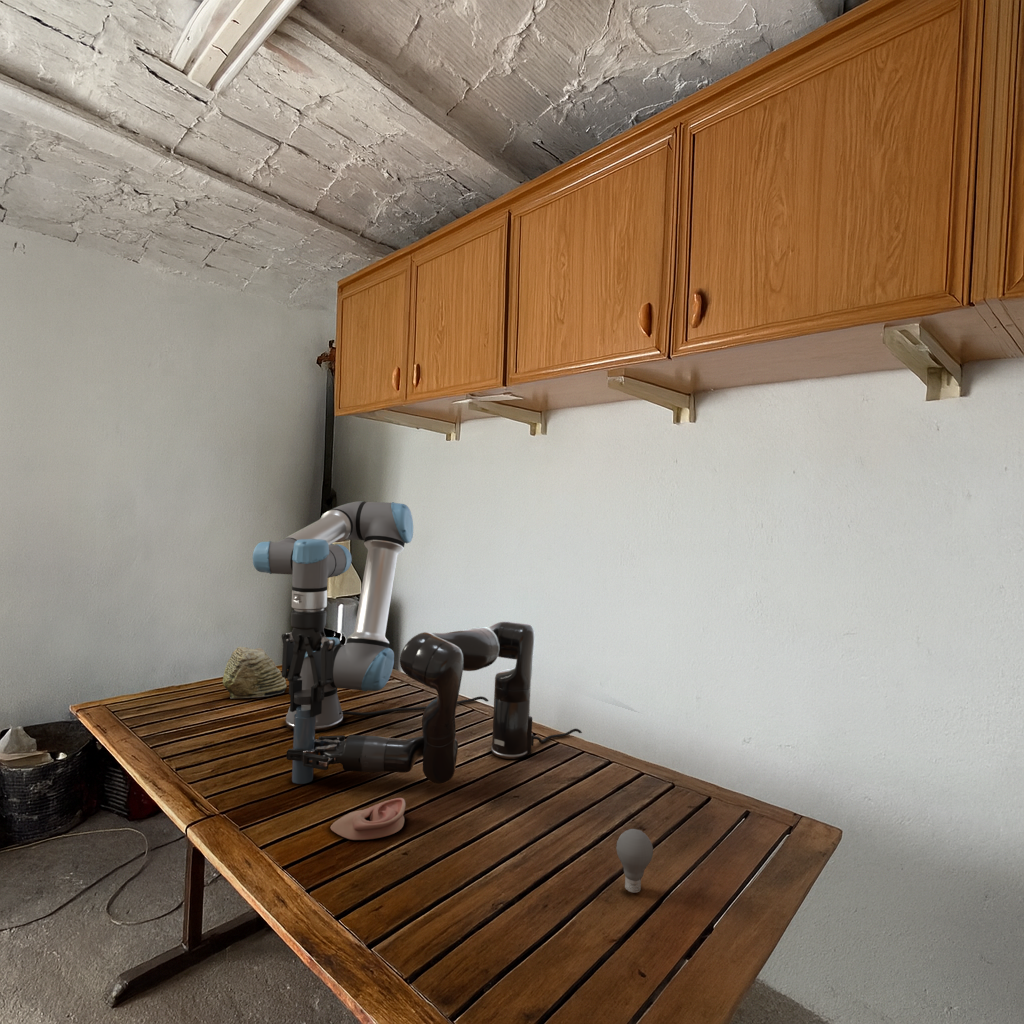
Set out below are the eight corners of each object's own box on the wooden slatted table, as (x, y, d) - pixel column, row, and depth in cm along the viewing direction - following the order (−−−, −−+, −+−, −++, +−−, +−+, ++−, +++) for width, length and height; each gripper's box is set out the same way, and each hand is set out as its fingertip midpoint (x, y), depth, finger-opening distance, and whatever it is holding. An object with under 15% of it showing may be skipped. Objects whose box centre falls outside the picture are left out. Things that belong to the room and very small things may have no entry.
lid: (308, 695, 145) (309, 687, 145) (323, 700, 142) (323, 692, 142) (288, 701, 141) (288, 693, 141) (303, 706, 138) (303, 698, 138)
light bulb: (610, 879, 108) (613, 822, 108) (644, 879, 109) (647, 822, 109) (619, 902, 102) (622, 840, 102) (655, 901, 103) (658, 840, 103)
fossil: (218, 695, 195) (220, 647, 195) (278, 685, 208) (279, 640, 207) (228, 703, 189) (230, 653, 188) (289, 692, 201) (290, 645, 201)
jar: (312, 783, 140) (315, 710, 140) (290, 784, 139) (293, 711, 138) (313, 774, 144) (316, 704, 144) (292, 775, 143) (295, 704, 143)
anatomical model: (323, 814, 118) (350, 787, 130) (322, 835, 118) (350, 806, 130) (389, 824, 116) (412, 796, 127) (389, 846, 116) (411, 816, 127)
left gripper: (265, 606, 141) (262, 709, 142) (329, 616, 133) (325, 725, 134) (290, 602, 148) (287, 700, 149) (352, 611, 140) (349, 715, 141)
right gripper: (375, 725, 148) (303, 721, 148) (359, 749, 134) (279, 745, 134) (374, 757, 148) (302, 753, 149) (358, 784, 134) (278, 780, 134)
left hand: (305, 712), depth 141 cm, fingers closed on lid, 5 cm apart
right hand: (291, 749), depth 141 cm, fingers closed on jar, 4 cm apart
